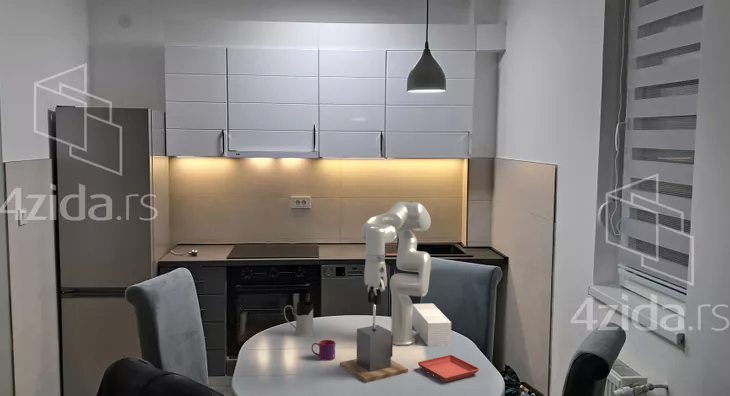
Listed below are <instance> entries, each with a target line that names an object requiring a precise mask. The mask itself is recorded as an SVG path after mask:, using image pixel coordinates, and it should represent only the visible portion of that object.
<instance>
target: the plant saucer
mask: <svg viewBox="0 0 730 396" xmlns="http://www.w3.org/2000/svg"><path fill="white" fill-rule="evenodd" d="M417 364H418V366H419V367H420V368H421V369H422V370H423V371H424V372H426V373H428V374H430V375H431V374H432V376H433V375H434V376H433V377H435V378H437V379H438V380H441V381H442V380H443V381H442V382H444V381H445V383H448V382H452V381H455V379H456V380H459V378H460V379H463V377H464V378H466V377H467V376H468V377H471V376H473V375H475V374H476V373H478V372H479V370H480V368H479V367H477V366H475V365H473V364H471V363H469V362H467V361H465V360H463V359H461V358H459V357H458V356H455V355H453V354H447V355H444V356H443V355H442V356H438V357H434V358H431V359H426V360H420V361H417ZM468 377H467V378H468ZM451 380H452V381H451ZM447 381H448V382H447Z"/></svg>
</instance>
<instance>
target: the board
mask: <svg viewBox="0 0 730 396" xmlns="http://www.w3.org/2000/svg"><path fill="white" fill-rule="evenodd" d="M339 367H340V368H342V369H344V370H345V371H347V372H348V373H350V374H351V375H353V376H355V377H356V378H358V379H359V380H361V381H363V382H365V383H370V382H374V381H378V380H383V379H386V378H391V377H395V376H399V375H403V373H404V374H408V373H409V368H407V367H406V366H404V365H402V364H400V363H398V362H397V361H394V360H393V359H391V367H390V368H385V369H381V370H377V371H372V372H369V371H367V370H366V369H364V368H362V367H361V366H359V365H357V358H355V359H350V360H344V361H341V362H339ZM407 372H408V373H407Z"/></svg>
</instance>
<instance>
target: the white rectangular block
mask: <svg viewBox="0 0 730 396" xmlns="http://www.w3.org/2000/svg"><path fill="white" fill-rule="evenodd" d="M412 305H413V311H412V328H414V330H415V331H420V335H419V337H421V339H422V340H423V342H424V343H425V344H426V345H427V347H431V346H432V347H436V346H437V347H438V346H451V344H452V342H451V341H452V321H450V320H449V318H448V317H447V316H446V315H445V314H443V313H444V312H442V311H441V310H440V309H439V308H438V307H437V306H436V305H435V304H434V303H412Z"/></svg>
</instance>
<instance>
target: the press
mask: <svg viewBox="0 0 730 396" xmlns="http://www.w3.org/2000/svg"><path fill="white" fill-rule="evenodd" d="M393 345H394V344H393V335H391V330H389V329H387V328H385V327H383V326H381V325H378V324H375V331H373V325H369V326H363V327H360V328H357V329H356V359H357V365H359V366H361V367H362V368H364V369H366V370H367V371H369V372H372V371H377V370H381V369H385V368H390V367H391V360H392V357H393Z"/></svg>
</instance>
